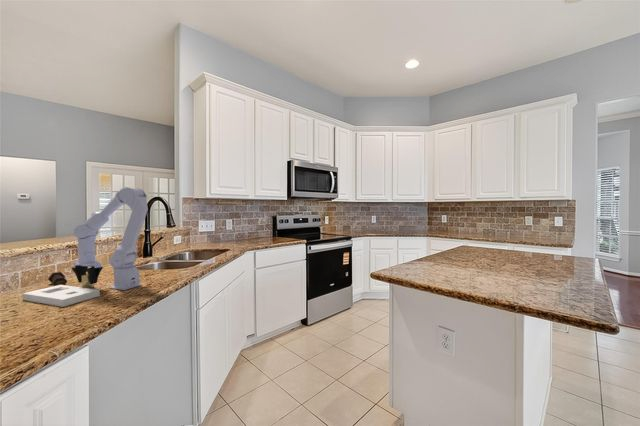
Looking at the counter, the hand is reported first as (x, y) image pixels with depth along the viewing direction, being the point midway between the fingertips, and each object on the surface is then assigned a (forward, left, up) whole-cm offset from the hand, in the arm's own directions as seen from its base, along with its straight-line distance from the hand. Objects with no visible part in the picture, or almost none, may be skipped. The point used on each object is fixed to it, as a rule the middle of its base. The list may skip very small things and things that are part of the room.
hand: (87, 282), depth 119 cm
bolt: (+18, +1, -3) cm, 18 cm away
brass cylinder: (0, 0, -2) cm, 2 cm away
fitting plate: (-5, +12, -2) cm, 13 cm away
